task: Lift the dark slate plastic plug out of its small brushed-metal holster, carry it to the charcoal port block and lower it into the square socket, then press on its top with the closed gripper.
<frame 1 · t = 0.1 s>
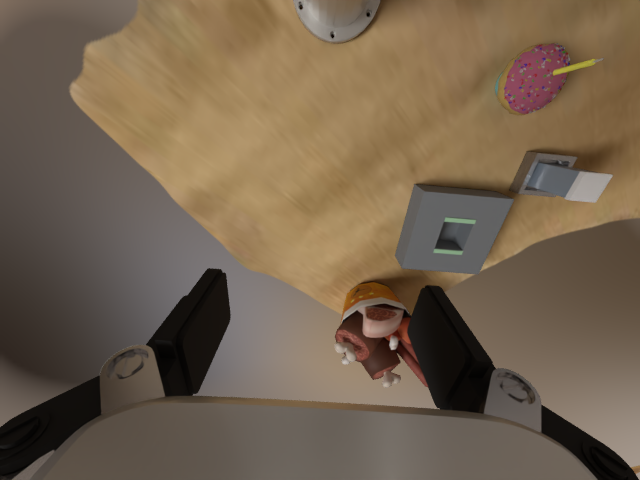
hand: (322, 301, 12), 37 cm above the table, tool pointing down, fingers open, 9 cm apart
cupcake: (509, 84, 38), on the table
bucket of meat: (370, 299, 59), on the table
port block: (441, 225, 50), on the table
plug: (538, 173, 44), point 1 cm above the table, touching holster
holster: (536, 173, 45), on the table
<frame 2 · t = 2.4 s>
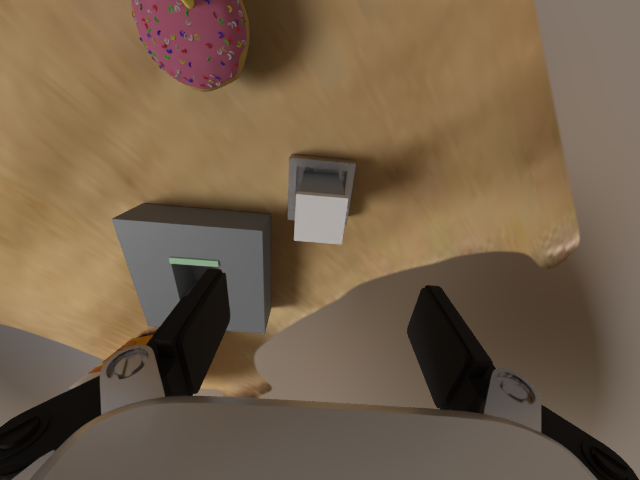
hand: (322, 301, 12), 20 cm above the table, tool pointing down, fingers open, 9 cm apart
cupcake: (217, 42, 23), on the table
bucket of meat: (166, 353, 44), on the table
port block: (214, 261, 34), on the table
plug: (319, 188, 29), point 1 cm above the table, touching holster
holster: (319, 187, 29), on the table
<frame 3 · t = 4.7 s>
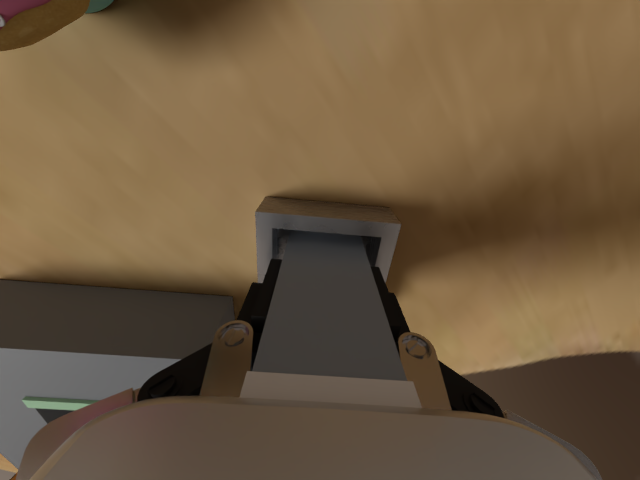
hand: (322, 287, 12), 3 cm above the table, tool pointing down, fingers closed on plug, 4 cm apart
port block: (144, 362, 20), on the table
plug: (322, 260, 15), point 1 cm above the table, touching gripper, holster
holster: (322, 255, 15), on the table
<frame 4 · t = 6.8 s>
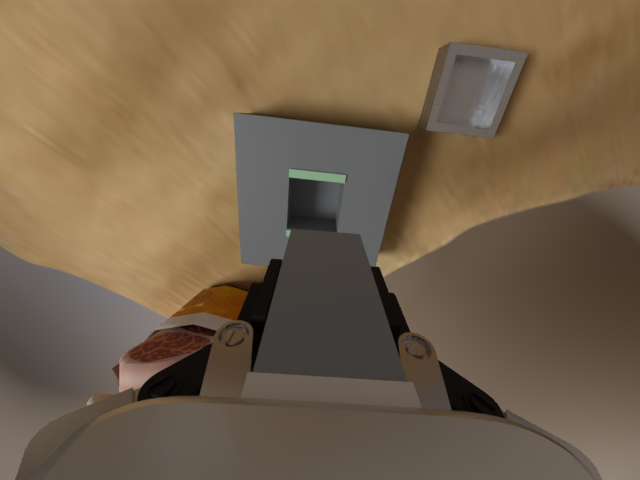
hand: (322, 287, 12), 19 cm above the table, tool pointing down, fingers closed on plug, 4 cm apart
bucket of meat: (235, 310, 39), on the table
port block: (315, 193, 30), on the table
plug: (322, 260, 15), point 17 cm above the table, touching gripper
holster: (460, 95, 25), on the table
when the fingers open (5 cm above the table, at t = 9.1 s): plug drops 2 cm, resting on port block.
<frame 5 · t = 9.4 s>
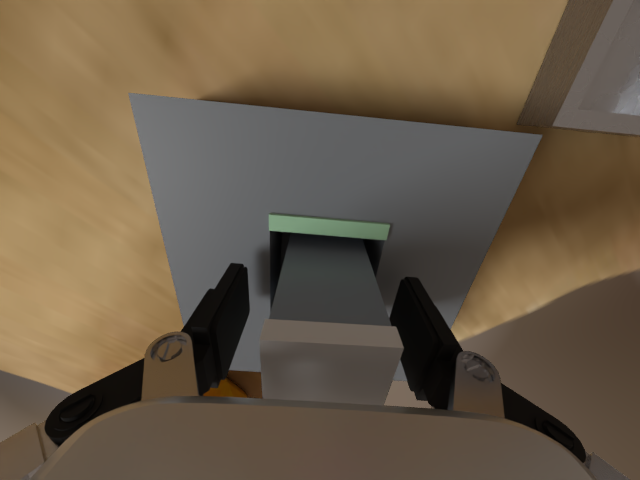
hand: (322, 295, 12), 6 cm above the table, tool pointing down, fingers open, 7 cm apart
bucket of meat: (206, 396, 27), on the table
port block: (322, 239, 17), on the table
plug: (323, 246, 16), point 1 cm above the table, touching port block
holster: (615, 54, 12), on the table
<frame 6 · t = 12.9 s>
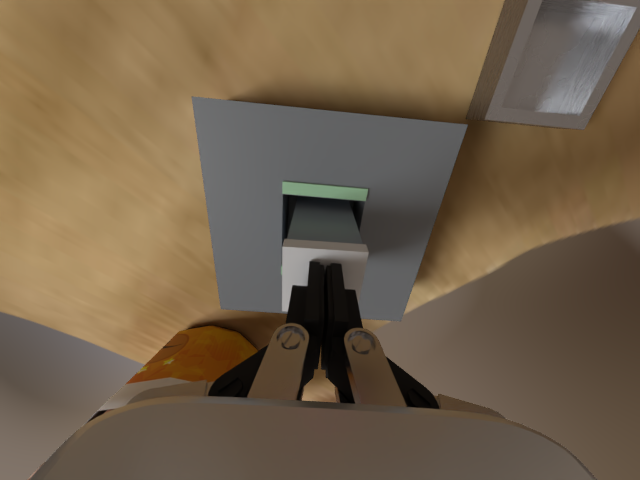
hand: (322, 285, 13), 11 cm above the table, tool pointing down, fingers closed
bucket of meat: (222, 352, 31), on the table
port block: (320, 210, 22), on the table
plug: (321, 214, 21), point 1 cm above the table, touching gripper, port block
holster: (533, 67, 17), on the table
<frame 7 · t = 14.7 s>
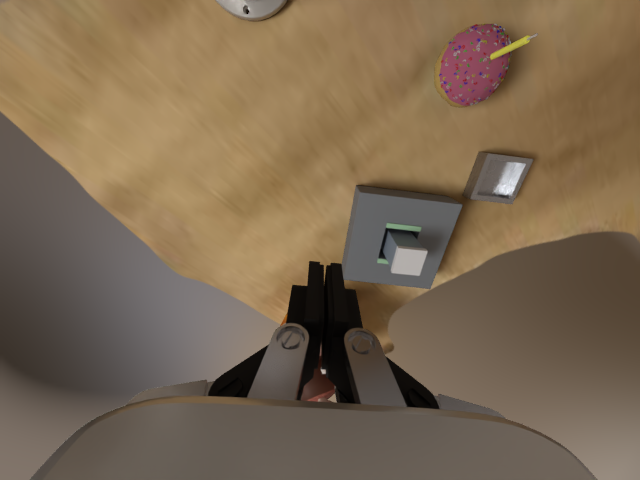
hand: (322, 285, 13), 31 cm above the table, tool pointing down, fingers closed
cupcake: (453, 75, 34), on the table
bucket of meat: (319, 312, 53), on the table
port block: (390, 233, 44), on the table
plug: (392, 235, 44), point 1 cm above the table, touching port block
holster: (491, 177, 40), on the table
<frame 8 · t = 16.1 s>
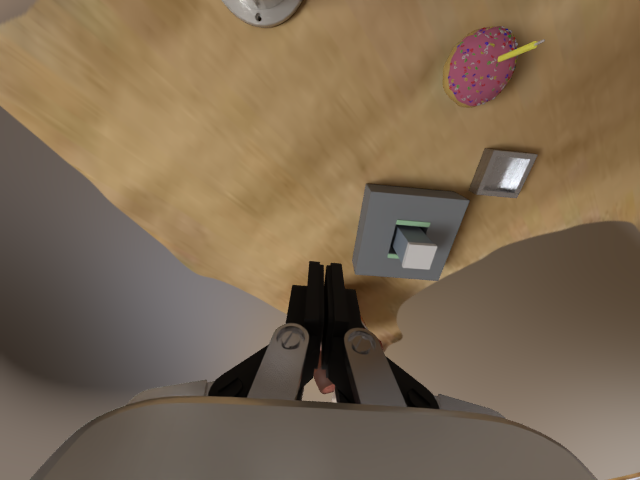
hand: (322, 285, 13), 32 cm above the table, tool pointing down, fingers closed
cupcake: (460, 75, 35), on the table
bucket of meat: (330, 305, 56), on the table
port block: (399, 228, 46), on the table
plug: (401, 230, 45), point 1 cm above the table, touching port block
holster: (496, 172, 41), on the table
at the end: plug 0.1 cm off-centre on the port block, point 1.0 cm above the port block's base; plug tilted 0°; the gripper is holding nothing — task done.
